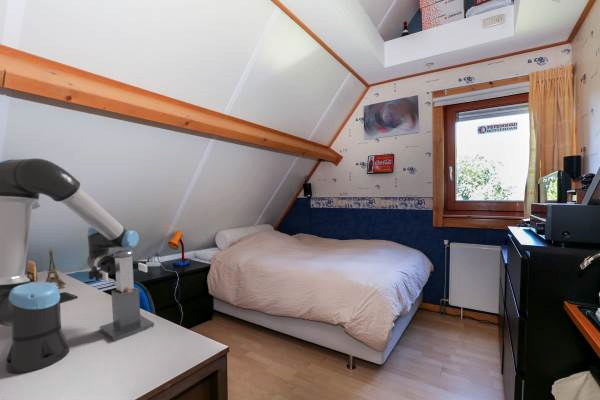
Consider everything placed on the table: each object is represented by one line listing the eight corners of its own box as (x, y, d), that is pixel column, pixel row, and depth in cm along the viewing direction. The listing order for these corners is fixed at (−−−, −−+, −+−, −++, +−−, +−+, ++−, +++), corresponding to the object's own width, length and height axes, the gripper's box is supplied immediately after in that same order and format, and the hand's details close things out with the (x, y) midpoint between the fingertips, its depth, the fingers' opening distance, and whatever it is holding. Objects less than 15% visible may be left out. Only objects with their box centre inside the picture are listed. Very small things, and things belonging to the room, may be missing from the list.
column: (139, 322, 114) (135, 251, 113) (121, 328, 110) (117, 254, 108) (132, 318, 119) (128, 249, 117) (114, 324, 114) (110, 252, 112)
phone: (64, 291, 156) (78, 296, 148) (64, 293, 156) (78, 298, 148) (46, 296, 149) (59, 302, 142) (46, 299, 149) (59, 304, 142)
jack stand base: (154, 326, 115) (152, 286, 114) (113, 341, 104) (111, 297, 104) (138, 317, 124) (136, 279, 123) (99, 330, 113) (97, 289, 112)
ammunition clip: (37, 281, 179) (36, 261, 178) (33, 281, 177) (32, 262, 177) (31, 278, 185) (30, 259, 184) (27, 279, 183) (26, 259, 183)
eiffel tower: (39, 292, 158) (36, 245, 157) (41, 287, 167) (39, 243, 166) (64, 288, 164) (62, 243, 163) (65, 283, 173) (63, 240, 172)
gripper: (139, 266, 135) (161, 274, 121) (71, 280, 116) (88, 292, 102) (138, 250, 135) (160, 256, 121) (70, 261, 116) (87, 270, 102)
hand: (127, 272), depth 112 cm, fingers open, 13 cm apart
